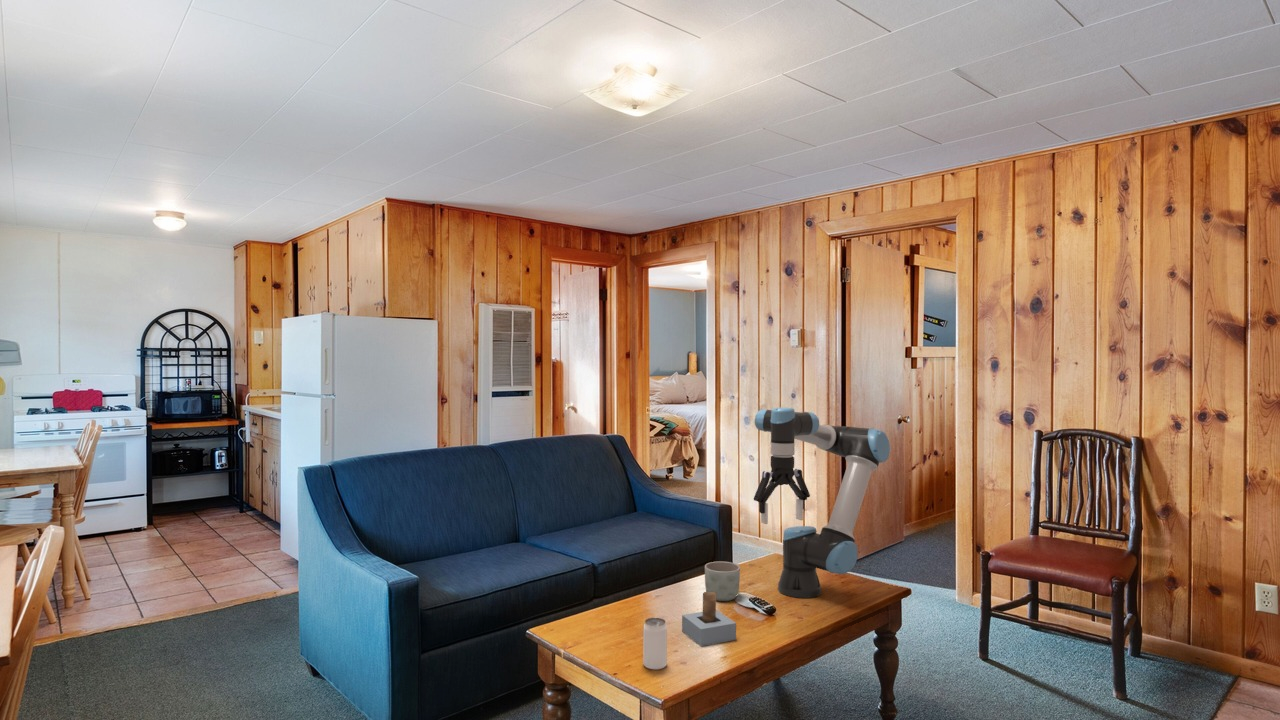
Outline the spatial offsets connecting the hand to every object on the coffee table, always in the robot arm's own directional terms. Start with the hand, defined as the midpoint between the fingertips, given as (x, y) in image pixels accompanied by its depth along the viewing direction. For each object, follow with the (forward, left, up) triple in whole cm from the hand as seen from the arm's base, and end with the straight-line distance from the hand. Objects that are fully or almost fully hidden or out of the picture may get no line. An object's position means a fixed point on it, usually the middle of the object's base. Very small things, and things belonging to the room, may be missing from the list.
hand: (782, 521), depth 221 cm
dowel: (+28, +2, -31) cm, 42 cm away
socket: (+28, +2, -32) cm, 42 cm away
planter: (+7, -25, -32) cm, 41 cm away
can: (+52, +14, -32) cm, 62 cm away
